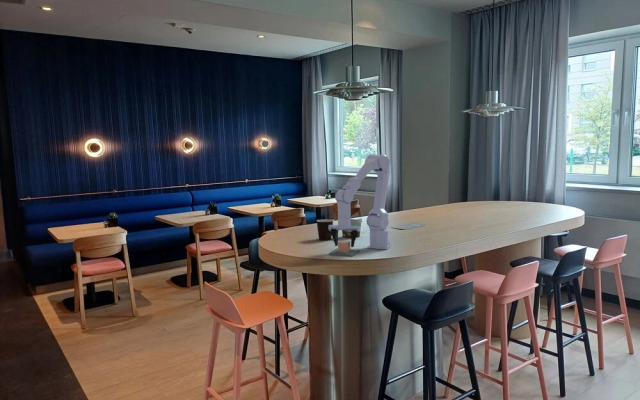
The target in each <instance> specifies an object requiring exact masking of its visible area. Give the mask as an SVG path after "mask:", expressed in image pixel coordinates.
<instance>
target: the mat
mask: <svg viewBox="0 0 640 400" xmlns="http://www.w3.org/2000/svg"><path fill="white" fill-rule="evenodd" d="M360 252H361V250H360V249H355V248H354V249H353V248H350V251H349V252H348V253H344V252H338V247H337V248H334V250H331V251H330V252H329V253H328V255H329V256H339V257H342V256H343V257H354V256H356V255H357V254H359V253H360Z"/></svg>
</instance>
